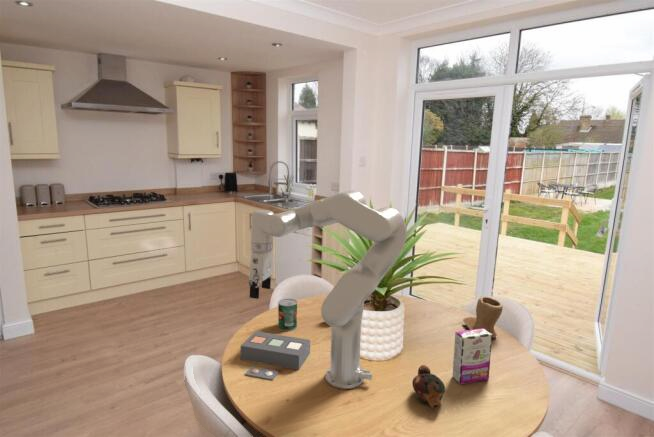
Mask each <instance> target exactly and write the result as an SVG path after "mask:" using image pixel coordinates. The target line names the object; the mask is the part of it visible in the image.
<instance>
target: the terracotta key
mask: <svg viewBox="0 0 654 437" xmlns="http://www.w3.org/2000/svg"><path fill="white" fill-rule="evenodd" d="M265 340H266V338H263V337H257V336H255V337H254V338H253V339H252V340H251V341H250V342H252V343H258V344H262V343H263V342H264V341H265Z"/></svg>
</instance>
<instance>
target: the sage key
mask: <svg viewBox="0 0 654 437" xmlns="http://www.w3.org/2000/svg"><path fill="white" fill-rule="evenodd" d="M283 343H284V341H282V340H276V339H272V341H271V342H270V343H269V344H268V345H270V346H276V347H281V345H282V344H283Z"/></svg>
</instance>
